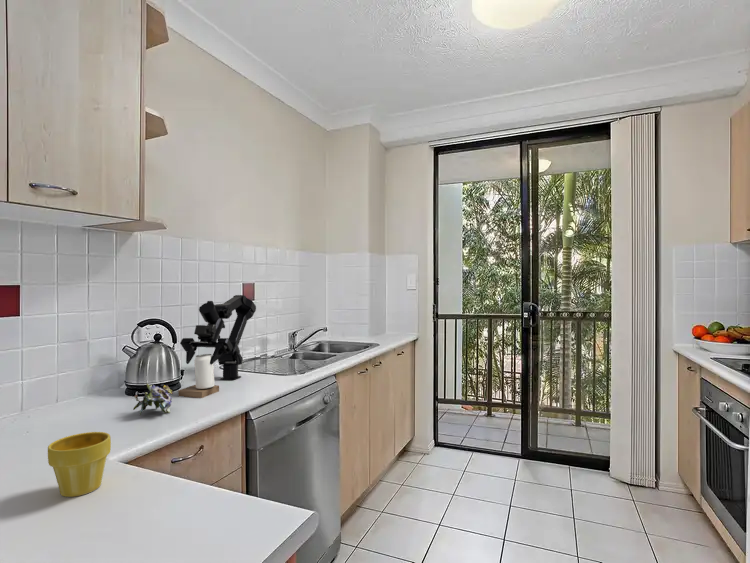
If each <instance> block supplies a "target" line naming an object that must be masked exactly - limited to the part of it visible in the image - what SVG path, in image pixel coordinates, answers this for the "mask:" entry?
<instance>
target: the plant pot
mask: <svg viewBox="0 0 750 563" xmlns="http://www.w3.org/2000/svg"><path fill="white" fill-rule="evenodd" d="M111 438H112V437H111V435H110V434H109V433H107V432H103V431H91V432H90V431H88V432H82V433H77V434H72V435H68V436H65V437H62V438H58V439H57V440H54V441H53V442H51V443H50V444H49V445H47V446H48V447H47V462H48V466H50V467H51V468H52V469H53V472H54V475H55V478H56V484H57V486H58V490H59V492H60V496H61V497H64V498H74V497H81V496H84V495H87V494H90V493H92V492H95V491H96V490H97V489H99V488H100V487H101V485H102V480H103V477H104V471H105V466H106V461H107V457H108V456H109V454H110V453H111V451H112V450H111V448H112V447H111V445H112V443H111Z"/></svg>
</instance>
